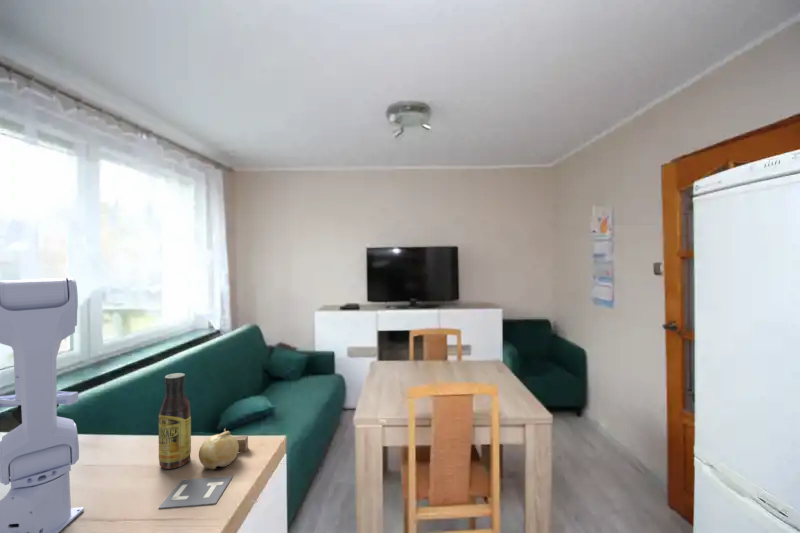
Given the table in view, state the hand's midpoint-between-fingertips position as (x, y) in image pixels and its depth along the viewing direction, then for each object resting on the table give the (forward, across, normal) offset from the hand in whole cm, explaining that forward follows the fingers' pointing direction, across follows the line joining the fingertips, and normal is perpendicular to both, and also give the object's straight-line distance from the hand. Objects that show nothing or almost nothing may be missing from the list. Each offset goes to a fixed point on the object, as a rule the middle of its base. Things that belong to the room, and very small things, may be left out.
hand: (37, 441), depth 77 cm
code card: (+10, -32, +5) cm, 34 cm away
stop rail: (+10, -32, -11) cm, 36 cm away
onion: (+10, -33, -6) cm, 35 cm away
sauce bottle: (+10, -23, -7) cm, 26 cm away
